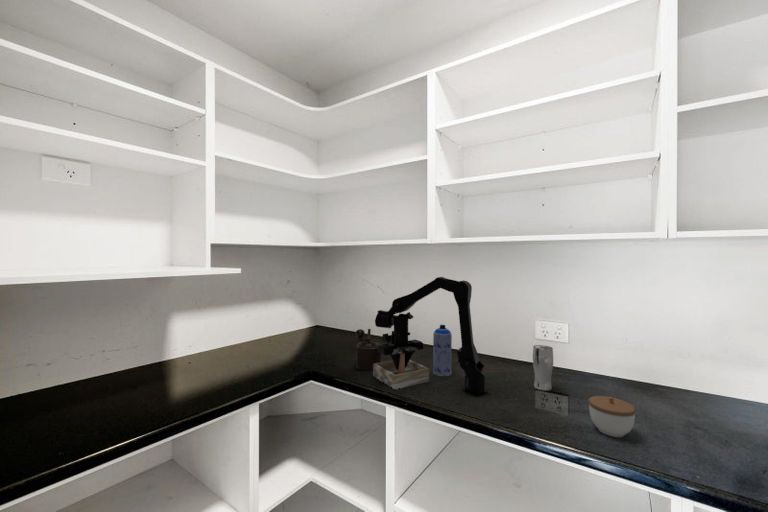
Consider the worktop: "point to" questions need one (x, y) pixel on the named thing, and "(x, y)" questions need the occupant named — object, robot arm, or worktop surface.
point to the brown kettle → (366, 351)
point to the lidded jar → (612, 415)
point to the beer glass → (543, 366)
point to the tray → (410, 377)
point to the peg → (401, 364)
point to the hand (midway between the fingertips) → (400, 368)
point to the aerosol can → (442, 351)
